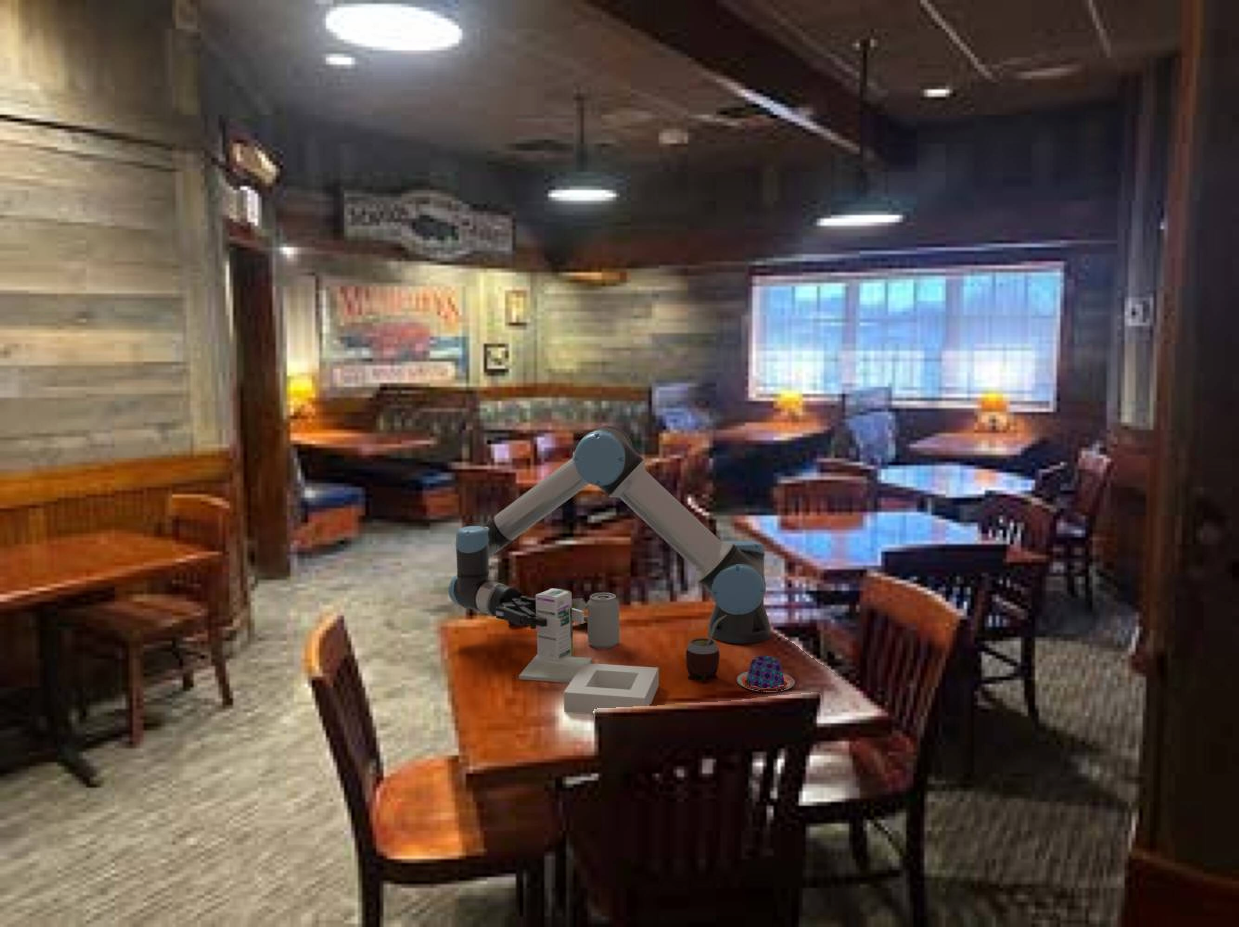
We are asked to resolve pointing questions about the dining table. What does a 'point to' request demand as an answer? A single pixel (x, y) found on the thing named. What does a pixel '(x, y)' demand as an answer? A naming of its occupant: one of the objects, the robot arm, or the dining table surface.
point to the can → (603, 620)
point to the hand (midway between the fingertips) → (571, 621)
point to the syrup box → (561, 643)
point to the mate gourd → (703, 657)
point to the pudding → (765, 673)
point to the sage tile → (553, 669)
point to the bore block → (610, 687)
